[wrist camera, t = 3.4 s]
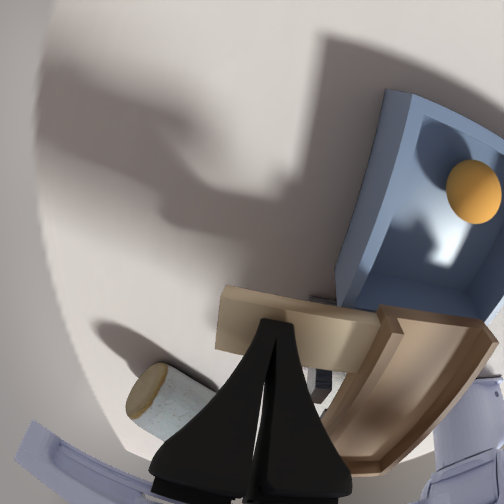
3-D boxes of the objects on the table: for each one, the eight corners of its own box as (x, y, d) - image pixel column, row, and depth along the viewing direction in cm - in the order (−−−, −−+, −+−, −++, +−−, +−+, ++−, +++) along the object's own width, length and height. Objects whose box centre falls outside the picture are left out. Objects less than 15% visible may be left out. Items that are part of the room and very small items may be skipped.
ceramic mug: (169, 348, 24) (138, 421, 18) (236, 389, 26) (218, 457, 20) (130, 370, 30) (105, 423, 23) (184, 403, 32) (166, 454, 26)
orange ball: (481, 171, 11) (515, 172, 8) (472, 224, 11) (505, 236, 9) (440, 152, 11) (473, 148, 8) (430, 210, 12) (462, 219, 9)
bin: (528, 160, 9) (564, 185, 6) (465, 294, 15) (482, 332, 12) (385, 89, 10) (412, 93, 7) (334, 269, 16) (337, 313, 13)
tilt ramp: (463, 297, 14) (499, 342, 9) (377, 431, 19) (383, 475, 15) (237, 253, 15) (214, 300, 10) (216, 412, 20) (201, 459, 16)
